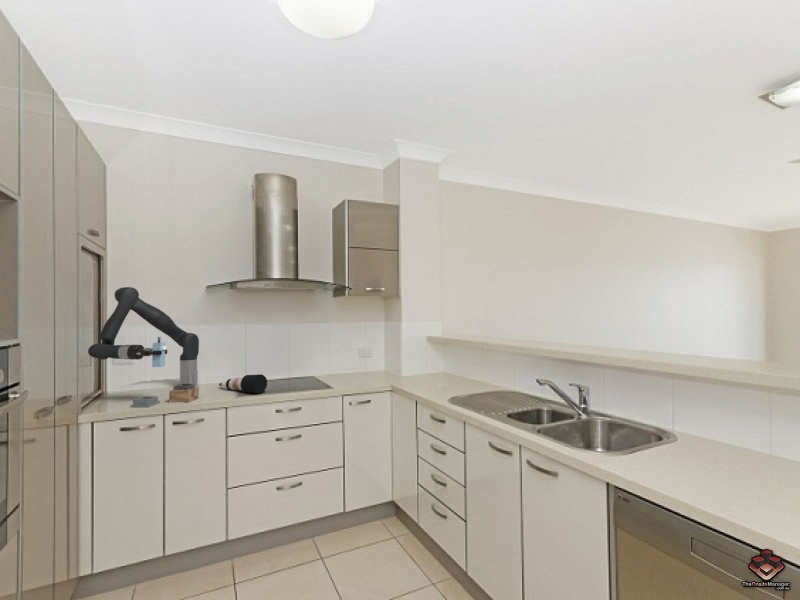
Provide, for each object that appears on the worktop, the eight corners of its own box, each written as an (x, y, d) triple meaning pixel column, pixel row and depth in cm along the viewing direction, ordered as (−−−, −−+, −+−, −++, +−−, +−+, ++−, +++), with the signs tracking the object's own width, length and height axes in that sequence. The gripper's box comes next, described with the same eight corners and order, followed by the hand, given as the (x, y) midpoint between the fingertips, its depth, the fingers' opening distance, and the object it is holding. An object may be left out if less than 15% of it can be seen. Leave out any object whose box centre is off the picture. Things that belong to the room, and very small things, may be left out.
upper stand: (180, 398, 217) (180, 383, 217) (198, 398, 216) (198, 383, 216) (169, 402, 207) (169, 387, 207) (188, 402, 206) (188, 387, 206)
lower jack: (143, 402, 207) (143, 395, 207) (160, 402, 206) (160, 395, 207) (130, 407, 198) (130, 400, 198) (148, 407, 198) (148, 400, 198)
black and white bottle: (224, 395, 243) (229, 378, 248) (264, 394, 227) (269, 377, 232) (210, 390, 236) (216, 373, 240) (250, 389, 220) (256, 371, 224)
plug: (157, 365, 207) (157, 336, 208) (166, 365, 207) (167, 336, 207) (152, 366, 203) (152, 337, 204) (161, 367, 203) (162, 337, 203)
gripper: (121, 346, 199) (155, 346, 198) (140, 343, 213) (172, 343, 212) (121, 361, 199) (155, 361, 198) (140, 357, 213) (172, 357, 212)
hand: (164, 352), depth 205 cm, fingers closed on plug, 4 cm apart
